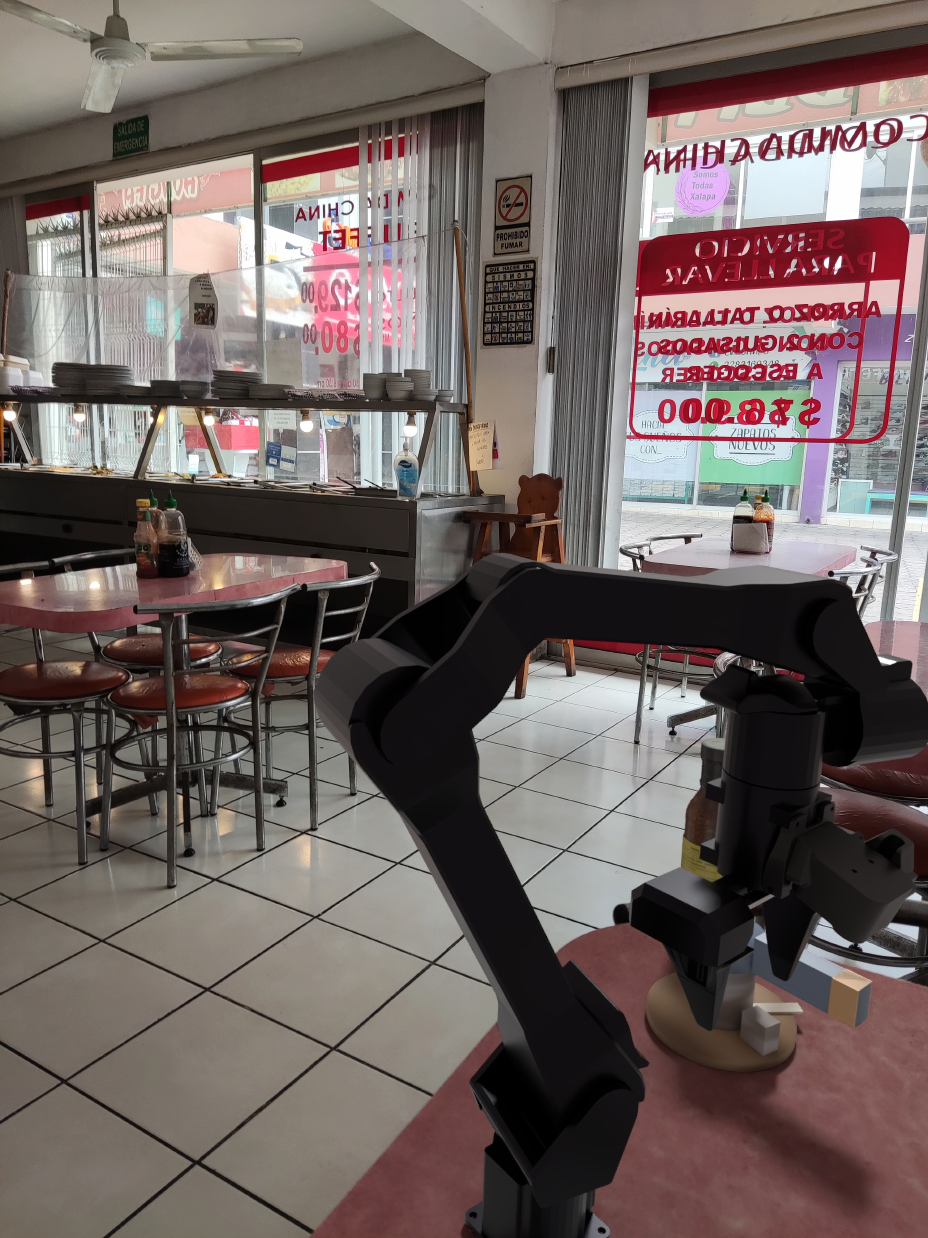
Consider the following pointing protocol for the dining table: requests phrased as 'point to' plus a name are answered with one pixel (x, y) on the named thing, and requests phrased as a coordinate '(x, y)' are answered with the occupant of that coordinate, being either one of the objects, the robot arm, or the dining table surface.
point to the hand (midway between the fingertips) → (745, 1001)
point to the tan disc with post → (726, 1025)
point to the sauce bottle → (703, 813)
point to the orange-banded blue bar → (813, 981)
